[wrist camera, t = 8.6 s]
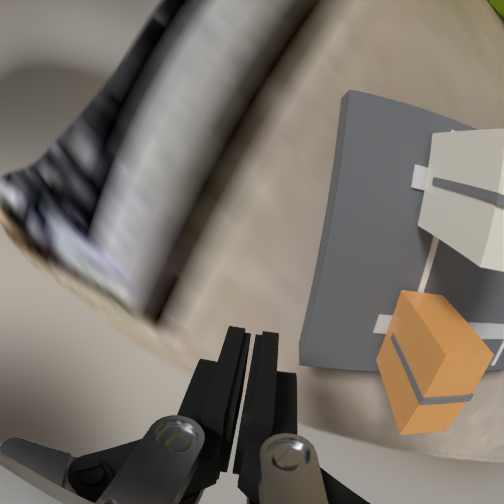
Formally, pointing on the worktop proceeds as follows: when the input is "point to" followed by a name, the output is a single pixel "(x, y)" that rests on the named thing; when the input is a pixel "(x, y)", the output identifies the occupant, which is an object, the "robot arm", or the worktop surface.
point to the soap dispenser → (498, 6)
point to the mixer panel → (387, 241)
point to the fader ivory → (467, 194)
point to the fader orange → (429, 362)
